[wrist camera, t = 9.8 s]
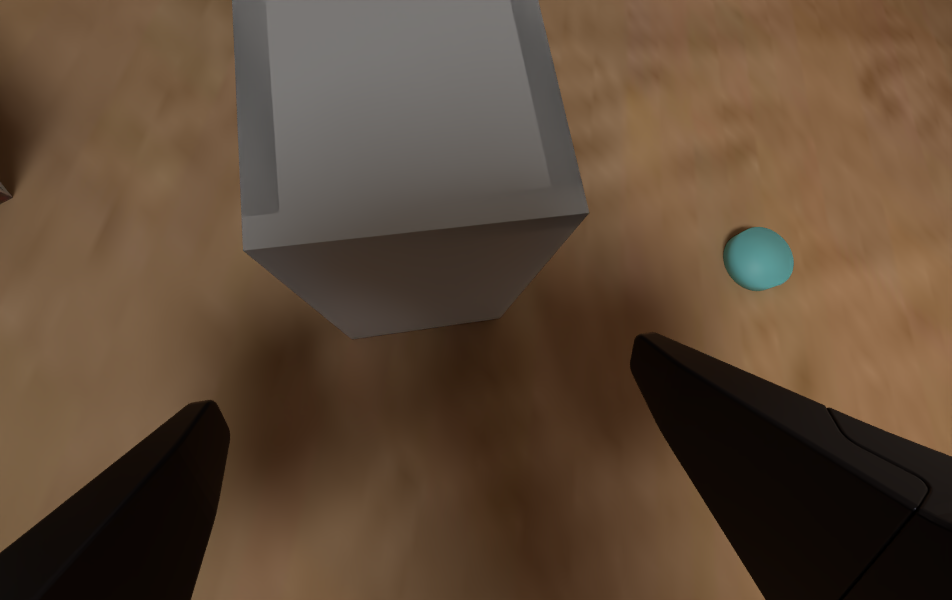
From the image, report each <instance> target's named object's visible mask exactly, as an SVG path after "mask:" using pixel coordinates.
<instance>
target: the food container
mask: <svg viewBox="0 0 952 600" xmlns="http://www.w3.org/2000/svg"><path fill="white" fill-rule="evenodd" d="M11 198H12V196H11V194H10V193H9V192H8V191H7V190H6V188H5V187H4V186H3V185H2V184H1V182H0V204H1V203H3V202H5V201H7V200H9V199H11Z"/></svg>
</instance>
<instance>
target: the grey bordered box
mask: <svg viewBox="0 0 952 600" xmlns="http://www.w3.org/2000/svg"><path fill="white" fill-rule="evenodd" d="M232 7H233V29H234V52H235V75H236V98H237V121H238V144H239V167H240V189H241V212H242V235H243V251H244V252H246V253H247V254H248V255H249V256H250V257H252V258H253V259H254V260H255V261H257V262H258V263H259V264H260V265H261V266H263V267H264V268H265V269H266V270H268V271H269V272H270V273H271V274H272V275H274V276H275V277H276V278H277V279H279V280H280V281H281V282H282V283H283V284H285V285H286V286H287V287H288V288H290V289H291V290H292V291H293V292H294V293H296V294H297V295H298V296H299V297H301V298H302V299H303V300H304V301H305V302H307V303H308V304H309V305H310V306H312V307H313V308H314V309H315V310H317V311H318V312H319V313H320V314H321V315H323V316H324V317H325V318H326V319H328V320H329V321H330V322H331V323H332V324H334V325H335V326H336V327H337V328H339V329H340V330H341V331H342V332H343V333H345V334H346V335H347V336H348V337H350V338H351V339H358V338H365V337H372V336H379V335H386V334H393V333H400V332H407V331H414V330H421V329H428V328H435V327H442V326H449V325H456V324H463V323H470V322H477V321H484V320H491V319H498V318H500V317H501V316H502V315H503V314H504V313H505V311H506V310H507V309H508V308H509V307H510V306H511V304H512V303H513V302H514V301H515V300H516V299H517V297H518V296H519V295H520V294H521V293H522V291H523V290H524V289H525V288H526V287H527V286H528V284H529V283H530V282H531V281H532V280H533V278H534V277H535V276H536V275H537V274H538V273H539V271H540V270H541V269H542V268H543V267H544V266H545V264H546V263H547V262H548V261H549V260H550V258H551V257H552V256H553V255H554V254H555V253H556V251H557V250H558V249H559V248H560V247H561V246H562V244H563V243H564V242H565V241H566V240H567V238H568V237H569V236H570V235H571V234H572V233H573V231H574V230H575V229H576V228H577V227H578V225H579V224H580V223H581V222H582V221H583V220H584V218H585V217H586V216H587V215H588V214H589V210H588V206H587V201H586V197H585V193H584V189H583V185H582V181H581V177H580V172H579V168H578V164H577V160H576V156H575V152H574V148H573V143H572V139H571V135H570V131H569V127H568V123H567V119H566V114H565V110H564V106H563V102H562V98H561V94H560V89H559V85H558V81H557V77H556V73H555V69H554V65H553V60H552V56H551V52H550V48H549V44H548V40H547V36H546V31H545V27H544V23H543V19H542V15H541V11H540V7H539V2H538V0H232Z"/></svg>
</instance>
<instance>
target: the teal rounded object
mask: <svg viewBox="0 0 952 600" xmlns="http://www.w3.org/2000/svg"><path fill="white" fill-rule="evenodd" d="M723 259H724V265H725V268H726V270H727V272H728V274H729V275H730V276H731V278H732V279H733V280H734V281H735V282H736V283H737V284H739V285H740V286H742V287H744V288H746V289H748V290H752V291H762V290H766V289H769V288H772V287H775V286H777V285H780V284H782V283H784V282H785V281H786V280H787V279H788V278H789V277H790V275H791V273H792V271H793V265H794V261H793V255H792V252H791V250H790V248H789V246H788V244H787V243H786V242H785V240H784V239H783V238H782V237H781V236H780V235H778V234H777V233H775V232H774V231H772V230H770V229H767V228H763V227H753V228H749V229H747V230H745V231H743V232H741V233H740V234H738V235H736V236H734V237H733V238H731V239H730V240H729V241H728V243H727V244H726V246H725V249H724V253H723Z"/></svg>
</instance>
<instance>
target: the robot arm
mask: <svg viewBox="0 0 952 600" xmlns="http://www.w3.org/2000/svg"><path fill="white" fill-rule="evenodd" d="M630 368H631V372H632V374H633V376H634V378H635V381H636V383H637V385H638V387H639V389H640V391H641V393H642V395H643V397H644V399H645V401H646V403H647V405H648V407H649V409H650V411H651V413H652V416H653V418H654V420H655V422H656V423H657V425H658V427H659V429H660V431H661V433H662V434H663V436H664V438H665V439H666V441H667V442H668V444H669V446H670V447H671V449H672V451H673V452H674V454H675V455H676V457H677V459H678V460H679V462H680V463H681V465H682V467H683V468H684V470H685V471H686V473H687V475H688V476H689V478H690V479H691V481H692V483H693V484H694V486H695V487H696V489H697V491H698V492H699V494H700V495H701V497H702V499H703V500H704V502H705V503H706V505H707V507H708V508H709V510H710V511H711V513H712V515H713V516H714V518H715V519H716V521H717V523H718V524H719V526H720V527H721V529H722V531H723V532H724V534H725V535H726V537H727V539H728V540H729V542H730V543H731V545H732V547H733V548H734V550H735V551H736V553H737V555H738V556H739V558H740V559H741V561H742V563H743V564H744V566H745V567H746V569H747V571H748V572H749V574H750V575H751V577H752V579H753V580H754V582H755V583H756V585H757V587H758V588H759V590H760V591H761V593H762V595H763V596H764V598H765V599H766V600H952V456H949V455H946V454H944V453H941V452H938V451H936V450H933V449H930V448H928V447H925V446H923V445H920V444H917V443H915V442H912V441H910V440H907V439H905V438H902V437H899V436H897V435H894V434H892V433H889V432H886V431H884V430H882V429H879V428H877V427H874V426H872V425H870V424H867V423H865V422H862V421H860V420H858V419H855V418H853V417H850V416H848V415H846V414H844V413H841V412H839V411H837V410H834V409H832V408H826V407H825V406H824V405H823V404H820V403H818V402H816V401H813V400H811V399H809V398H806V397H804V396H802V395H799V394H797V393H795V392H792V391H790V390H788V389H785V388H783V387H781V386H779V385H776V384H774V383H772V382H769V381H767V380H765V379H762V378H760V377H758V376H755V375H753V374H751V373H748V372H746V371H744V370H741V369H739V368H737V367H734V366H732V365H730V364H727V363H725V362H723V361H721V360H718V359H716V358H714V357H711V356H709V355H707V354H704V353H702V352H700V351H697V350H695V349H693V348H690V347H688V346H686V345H683V344H681V343H679V342H676V341H674V340H672V339H670V338H667V337H665V336H663V335H660V334H658V333H655V332H651V333H644V334H639V335H637V336H636V338H635V340H634V345H633V350H632V355H631V360H630ZM229 443H230V431H229V427H228V425H227V423H226V421H225V419H224V417H223V415H222V413H221V411H220V409H219V407H218V405H217V403H216V402H215V401H213V400H205V401H199V402H193V403H190V404H188V405H187V406H185V407H184V408H183V409H181V410H180V411H179V412H178V413H176V414H175V415H174V416H173V417H171V418H170V419H169V420H168V421H166V422H165V423H164V424H162V425H161V426H160V427H159V428H157V429H156V430H155V431H154V432H152V433H151V434H150V435H149V436H147V437H146V438H145V439H144V440H142V441H141V442H140V443H138V444H137V445H136V446H135V447H133V448H132V449H131V450H130V451H128V452H127V453H126V454H125V455H123V456H122V457H121V458H120V459H118V460H117V461H116V462H114V463H113V464H112V465H111V466H109V467H108V468H107V469H106V470H104V471H103V472H102V473H101V474H99V475H98V476H97V477H95V478H94V479H93V480H92V481H90V482H89V483H88V484H87V485H85V486H84V487H83V488H82V489H80V490H79V491H78V492H77V493H75V494H74V495H73V496H71V497H70V498H69V499H68V500H66V501H65V502H64V503H63V504H61V505H60V506H59V507H58V508H56V509H55V510H54V511H53V512H51V513H50V514H49V515H47V516H46V517H45V518H44V519H42V520H41V521H40V522H39V523H37V524H36V525H35V526H34V527H32V528H31V529H30V530H28V531H27V532H26V533H25V534H23V535H22V536H21V537H20V538H18V539H17V540H16V541H15V542H13V543H12V544H11V545H10V546H8V547H7V548H6V549H4V550H3V551H2V552H1V553H0V600H191V597H192V594H193V590H194V587H195V584H196V580H197V577H198V574H199V570H200V567H201V564H202V561H203V557H204V554H205V551H206V547H207V544H208V541H209V537H210V534H211V531H212V527H213V524H214V520H215V516H216V513H217V508H218V503H219V498H220V493H221V487H222V481H223V476H224V470H225V465H226V459H227V454H228V448H229Z"/></svg>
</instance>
